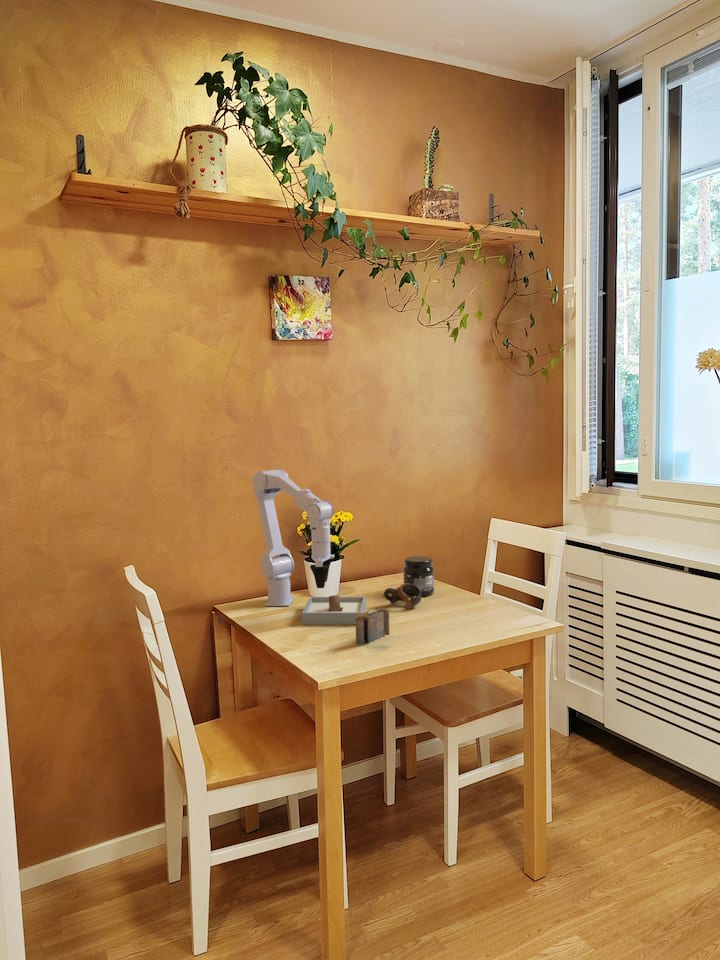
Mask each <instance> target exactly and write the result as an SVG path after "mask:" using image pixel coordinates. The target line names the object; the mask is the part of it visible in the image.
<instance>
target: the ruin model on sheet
mask: <svg viewBox="0 0 720 960" xmlns="http://www.w3.org/2000/svg"><path fill="white" fill-rule="evenodd" d="M385 635H388V636H390V635H391V634H390V610H389V609H386V608H380V609H377V610H374V611H371V612H370V610H367V611H365V612H364V613H362V614H358V615H357V618H356V625H355V644H356V643H357V644H356V645H359V644H360V646H363V645H364V646H365V641H364V640H366V641H367V644H371V643H373V642H376V641H378V640H381V639H383V638H385ZM382 637H383V638H382ZM380 638H381V639H380ZM367 639H368V640H367ZM377 639H378V640H377ZM375 640H376V641H375ZM370 642H371V643H370Z"/></svg>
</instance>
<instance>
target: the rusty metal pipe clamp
mask: <svg viewBox="0 0 720 960" xmlns="http://www.w3.org/2000/svg"><path fill="white" fill-rule="evenodd" d="M409 587H410V588H412V589H413V591H416V592H418V594H419V595H418V596H416V597H414V596H410V597H409V595H407V594H405V593H404V592H405V590H408V589H409ZM389 594H390V595H391V596H390V595H389ZM383 596H384V598H385V599H386V600H387V601H388V602H389V603H390V604H391V605H395V604H396V603H397V602H405V604H404V605H403V608H404V609H405V610H406V611H407V610H410V609H411V608H413V607H415V606H416V605H419V604H420V603H421V602H422V597H421V590H420V589H419V588H418V587H417V586H415V585H413V584H409V583H404V582H403V583H401V585H399V587H397V588H392V587H387V588H386V589H385V590H384V592H383ZM409 598H410V599H409Z"/></svg>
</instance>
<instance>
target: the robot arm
mask: <svg viewBox="0 0 720 960" xmlns="http://www.w3.org/2000/svg"><path fill="white" fill-rule="evenodd" d="M251 481H252V485H253V491H254V494H255V495H254V496H255V497H256V503H257V507H258V513H259V518H260V521H261V527H262V532H263V537H264V542H265V547H266V549H265V551H264V552H263V553H262V554H261V557H260V559H261V566H260V567H261V572H262V574H263V576H265V578H266V579H267V580H266V581H267V601H266V603H265V605H264V606H265V607H289V606H291V604H292V602H293V600H294V598H295V597H293V596H292V595H291V593H292V592H291V579H290V577H291V576H292V573H293V572H294V570H295V561H294V559H293V557H292V555H291V552H290V550H289V549H288V548H287V547H285V546H284V544H283V541H282V534H281V531H280V526H279V521H278V515H277V512H276V507H275V501H274V499H275V497H276V496H277V495H278V494H279V493H281V491H283V492H284V493H285V494H287V495H289V496H291V498H293V499H294V501H293V502H294V504H295V505H296V506H298V507H299V508H300V509H301V510H303V511H304V512H305V513H306V517H307V519H308V521H309V522H308V523H309V526H310V528H311V529H310V530H311V533H310V534H311V535H310V536H311V559H312V560H313V561H314V564H310V566H309V569H310V570H311V572H312V574H313V576H314V582H315V586H316V588H317V589H324V588H325V586H326V582H327V581H328V577H329V571H330V566H331V563H332V560H333V559H334V558H335V554H331V519H332V518H333V517H334V510H335V509H334V506H333V504H332V503H331V502H330V501H329V500H322V499H320V498H319V497H317V496H316V495H315V494H314V493H312V492H311V490H310V489H309V488H300V487H299V486H298V485H297V484H296V482H294V481H293V480H292V479H291V478H289V474H288V472H286V471H285V469H282V468H278V469H270V470H269V469H268V470H258V471H256V472H255V473H254V476H253V478H252V480H251ZM275 556H276V557H275Z"/></svg>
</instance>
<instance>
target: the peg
mask: <svg viewBox="0 0 720 960" xmlns="http://www.w3.org/2000/svg"><path fill="white" fill-rule="evenodd" d="M328 597H329V612H340V597H341V596H340V595H333V594H332V595H330V596H328Z"/></svg>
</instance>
